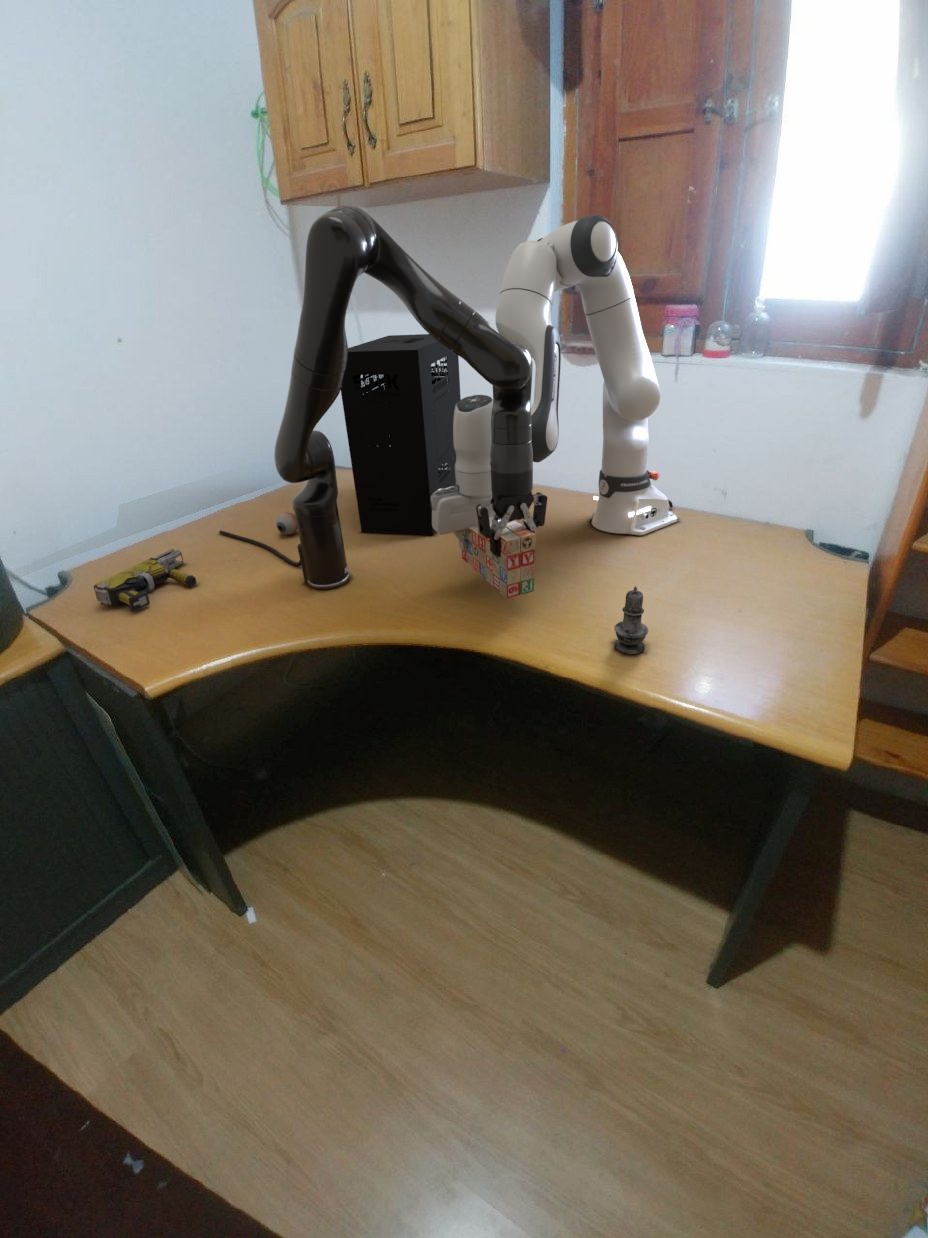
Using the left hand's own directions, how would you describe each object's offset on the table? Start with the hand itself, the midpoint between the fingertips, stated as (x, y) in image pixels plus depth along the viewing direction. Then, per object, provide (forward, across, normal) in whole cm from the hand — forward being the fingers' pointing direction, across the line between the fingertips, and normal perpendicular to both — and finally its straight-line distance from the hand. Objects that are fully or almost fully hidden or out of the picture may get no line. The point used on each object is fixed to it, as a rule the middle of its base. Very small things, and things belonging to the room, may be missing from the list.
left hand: (512, 551), depth 116 cm
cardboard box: (+13, +5, +67) cm, 68 cm away
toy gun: (+13, -65, +50) cm, 83 cm away
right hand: (+4, 0, +15) cm, 15 cm away
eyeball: (+13, -33, +68) cm, 76 cm away
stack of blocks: (+8, 0, +7) cm, 11 cm away
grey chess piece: (+13, +12, -22) cm, 28 cm away
